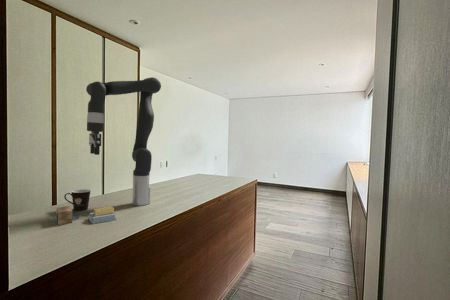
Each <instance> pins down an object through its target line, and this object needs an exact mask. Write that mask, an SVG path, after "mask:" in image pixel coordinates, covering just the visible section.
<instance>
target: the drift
mask: <svg viewBox="0 0 450 300" xmlns="http://www.w3.org/2000/svg"><path fill="white" fill-rule="evenodd" d="M79 219H80V213H79V212H78V211H72V221H75V220H79ZM53 223H54V224H56V225H58V216H56V215H55V216H54V217H53Z"/></svg>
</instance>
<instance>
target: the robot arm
mask: <svg viewBox="0 0 450 300" xmlns="http://www.w3.org/2000/svg"><path fill="white" fill-rule="evenodd" d="M161 88H162V84H161V81H160V80H159V79H158V78H156V77H146V78H144V79H140V80H116V81H108V82H101V81H94V82H90V83H88V85H87V86H86V89H85V91H86V93H87V94H88V95H89V96H90V98H89V99H90V100H89V101H88V103H87V115H86V131H87V132H90V133H89V140H88V144H89V146H90V151H89V153H90V154H92V155H93V154H94V155H96V156H98V155H99V156H100V152H101V151H100V148H101V146H102V133H103V132H104V130H105V129H104V127H105V124H104V123H105V121H104V120H105V116H104V115H105V114H104V110H105V109H104V105H105V102H106V101H105V100H106V96H118V95H119V96H120V95H127V94H128V95H129V94H133V93H134V94H135V93H140V94H139V96H140V97H139V105H138V106H139V107H138V112H137V113H138V114H137V121H136V130H135V131H136V132H135V139H134V145H133V147H132V148H133V149H132V152H131V153H132V154H131V158H132V160H133V162H135V168H134V169H133V170H132V200H131V204H132V205H134V206H146V205H149V204H150V203H151V187H150V173H151V170H152V160H153V159H152V158H153V156H152V152H151V150H149V149H148V146H147V145H148V140H149V137H150V136H151V133H152V131H153V129H154V128H153V127H154V121H155V120H154V119H155V114H154V113H155V112H154V109H153V106H152V105H153V104H152V101H153V95H154V94H157V93H159V92H160V90H161Z"/></svg>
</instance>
